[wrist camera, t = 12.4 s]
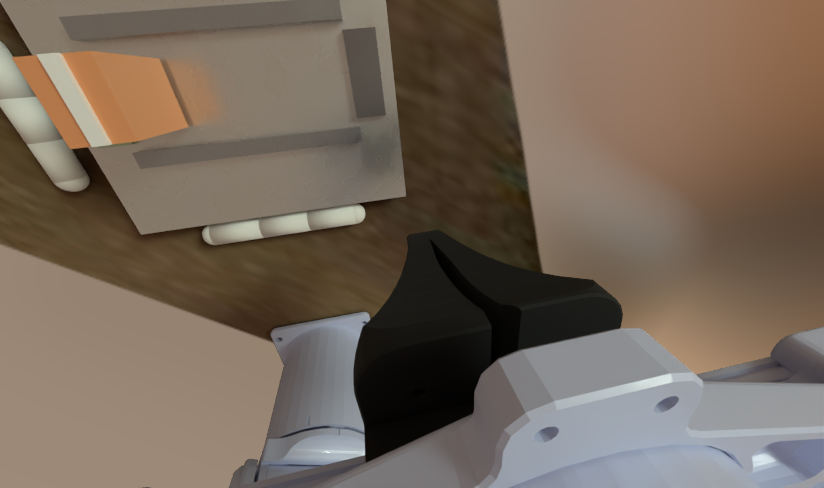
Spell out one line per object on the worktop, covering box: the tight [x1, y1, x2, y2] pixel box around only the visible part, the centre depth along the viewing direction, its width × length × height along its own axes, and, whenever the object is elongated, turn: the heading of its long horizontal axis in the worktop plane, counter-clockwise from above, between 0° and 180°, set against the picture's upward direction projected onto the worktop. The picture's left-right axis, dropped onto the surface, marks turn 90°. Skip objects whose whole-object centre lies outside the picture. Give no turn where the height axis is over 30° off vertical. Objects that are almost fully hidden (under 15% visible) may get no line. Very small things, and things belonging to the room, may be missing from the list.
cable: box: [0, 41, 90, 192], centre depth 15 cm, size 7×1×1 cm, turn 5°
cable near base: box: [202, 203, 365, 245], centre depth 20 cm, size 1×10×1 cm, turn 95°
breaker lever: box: [12, 51, 188, 149], centre depth 13 cm, size 3×2×4 cm
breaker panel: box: [0, 0, 406, 235], centre depth 16 cm, size 14×16×2 cm
